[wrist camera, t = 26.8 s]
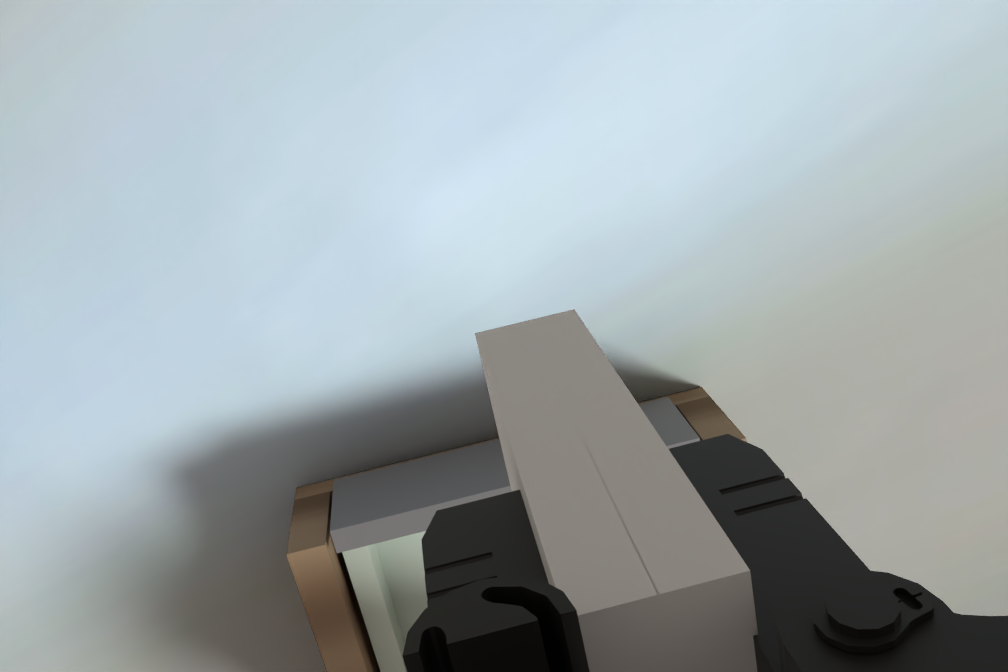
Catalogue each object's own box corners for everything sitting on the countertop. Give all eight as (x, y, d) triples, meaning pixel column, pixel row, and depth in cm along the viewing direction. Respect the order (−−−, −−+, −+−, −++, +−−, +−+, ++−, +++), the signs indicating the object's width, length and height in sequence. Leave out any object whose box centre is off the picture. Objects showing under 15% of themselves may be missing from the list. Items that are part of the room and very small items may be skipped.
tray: (333, 480, 37) (329, 531, 33) (668, 396, 38) (699, 437, 34) (436, 806, 44) (442, 878, 40) (718, 729, 45) (749, 793, 41)
